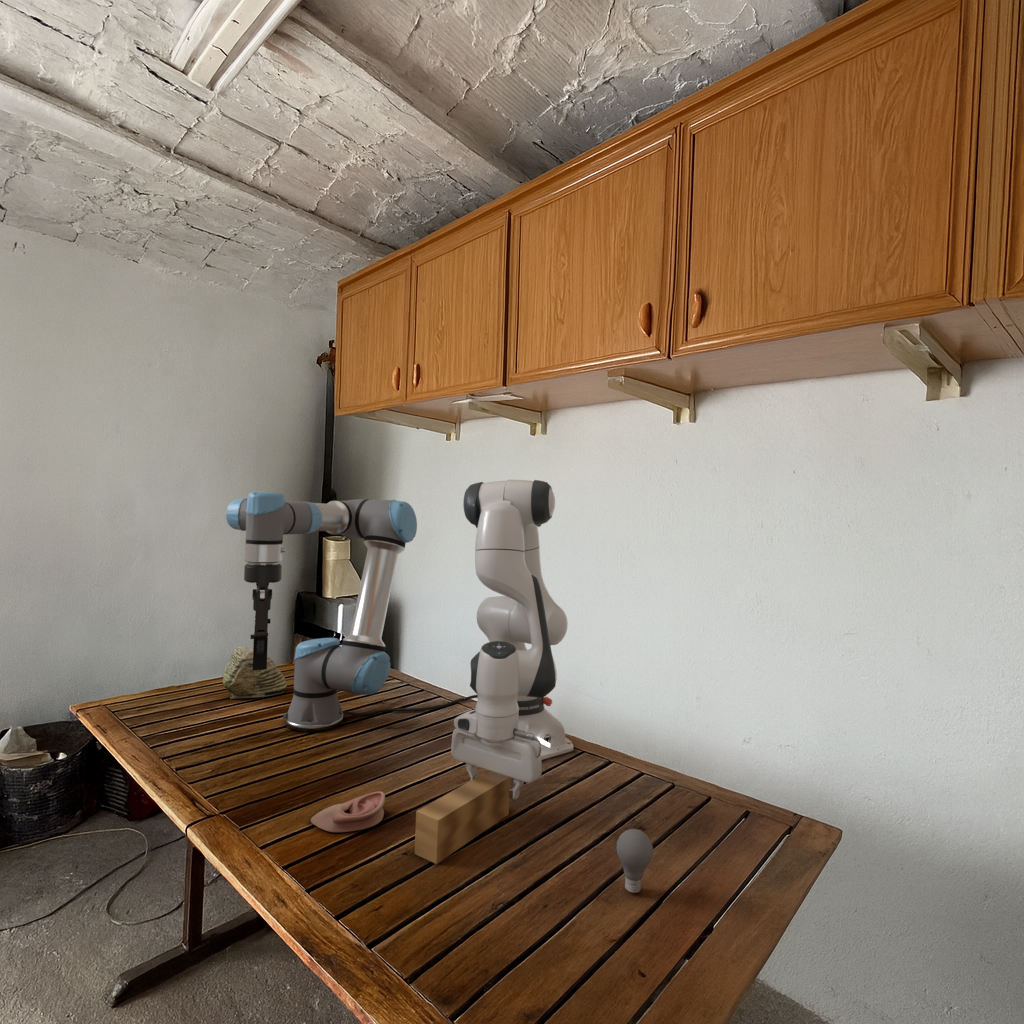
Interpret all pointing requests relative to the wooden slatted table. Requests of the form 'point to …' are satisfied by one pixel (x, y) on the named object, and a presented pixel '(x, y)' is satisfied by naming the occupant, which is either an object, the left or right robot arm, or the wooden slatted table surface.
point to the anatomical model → (352, 814)
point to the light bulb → (634, 857)
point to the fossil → (251, 676)
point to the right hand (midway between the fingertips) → (494, 791)
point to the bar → (461, 816)
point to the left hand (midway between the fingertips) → (259, 661)
